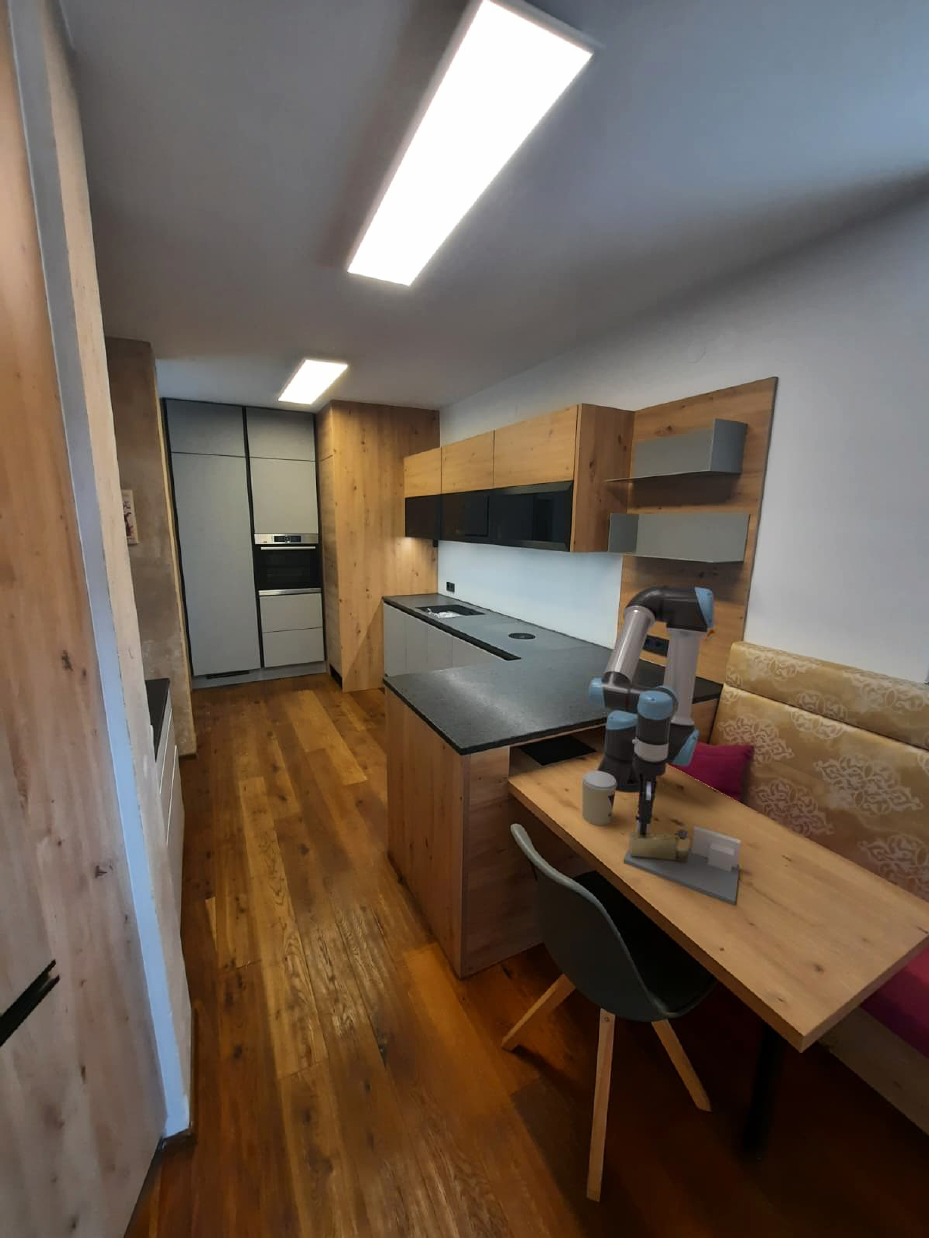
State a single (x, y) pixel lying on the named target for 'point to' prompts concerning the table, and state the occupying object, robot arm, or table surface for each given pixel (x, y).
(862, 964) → the table surface
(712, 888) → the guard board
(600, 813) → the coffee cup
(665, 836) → the swing bar
